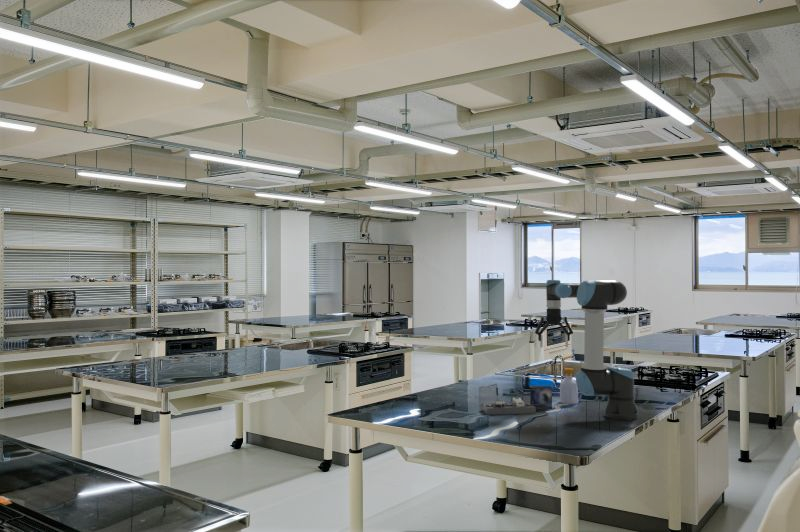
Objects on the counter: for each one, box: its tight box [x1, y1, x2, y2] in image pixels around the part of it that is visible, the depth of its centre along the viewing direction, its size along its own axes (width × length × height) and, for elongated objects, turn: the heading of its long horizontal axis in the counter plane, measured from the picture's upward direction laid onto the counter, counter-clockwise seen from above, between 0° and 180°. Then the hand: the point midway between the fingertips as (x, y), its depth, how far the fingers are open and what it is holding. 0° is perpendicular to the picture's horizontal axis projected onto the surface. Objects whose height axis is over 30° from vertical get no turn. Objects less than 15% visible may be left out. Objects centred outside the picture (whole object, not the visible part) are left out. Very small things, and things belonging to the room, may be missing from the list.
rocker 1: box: [492, 400, 505, 404], centre depth 306 cm, size 8×4×1 cm, turn 5°
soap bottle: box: [559, 355, 579, 405], centre depth 327 cm, size 9×9×25 cm
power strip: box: [481, 400, 549, 415], centre depth 307 cm, size 10×32×5 cm, turn 96°
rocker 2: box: [512, 397, 525, 407], centre depth 307 cm, size 8×4×1 cm, turn 6°
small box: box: [529, 385, 553, 410], centre depth 316 cm, size 11×6×10 cm, turn 82°
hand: (554, 347), depth 340 cm, fingers open, 13 cm apart
